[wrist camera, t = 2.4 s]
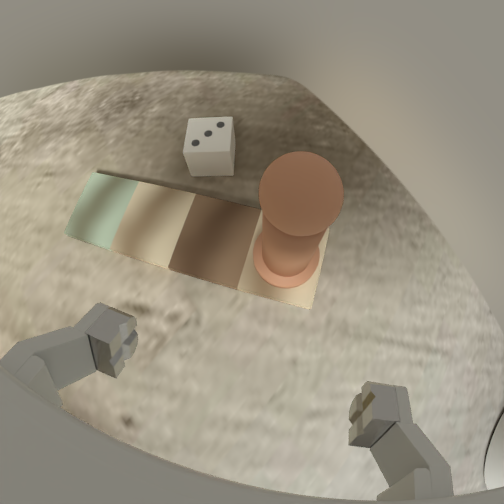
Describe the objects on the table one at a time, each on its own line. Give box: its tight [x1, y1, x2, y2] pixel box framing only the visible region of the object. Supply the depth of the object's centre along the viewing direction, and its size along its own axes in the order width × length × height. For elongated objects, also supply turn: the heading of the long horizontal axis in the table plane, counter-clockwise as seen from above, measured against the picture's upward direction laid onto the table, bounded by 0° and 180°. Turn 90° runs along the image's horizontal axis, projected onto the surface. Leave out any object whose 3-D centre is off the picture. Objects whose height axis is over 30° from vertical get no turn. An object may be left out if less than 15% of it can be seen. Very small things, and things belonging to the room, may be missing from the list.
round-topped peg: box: [253, 151, 344, 289], centre depth 19 cm, size 5×5×13 cm
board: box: [64, 172, 330, 310], centre depth 26 cm, size 24×7×1 cm, turn 74°
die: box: [183, 117, 236, 177], centre depth 27 cm, size 4×4×4 cm
